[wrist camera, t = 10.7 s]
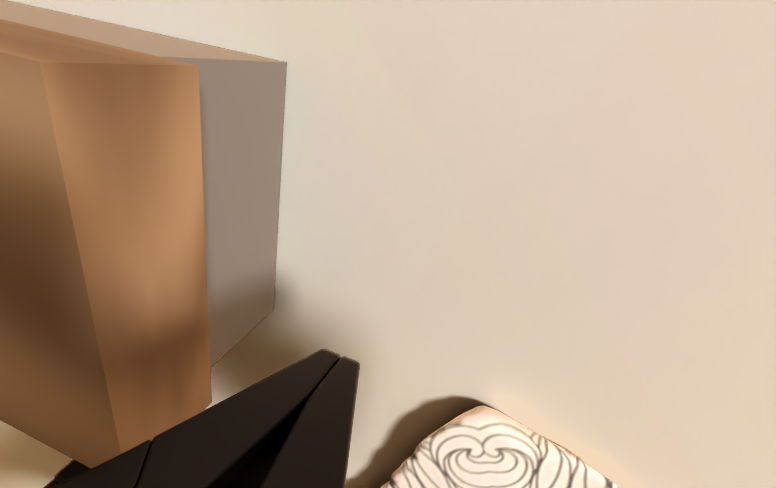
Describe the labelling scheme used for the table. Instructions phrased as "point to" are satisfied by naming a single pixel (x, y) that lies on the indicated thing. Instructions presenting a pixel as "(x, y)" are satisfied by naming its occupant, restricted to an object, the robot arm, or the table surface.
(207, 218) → the plinth
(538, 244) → the table surface
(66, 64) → the slab
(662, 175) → the table surface
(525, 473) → the cookie jar
